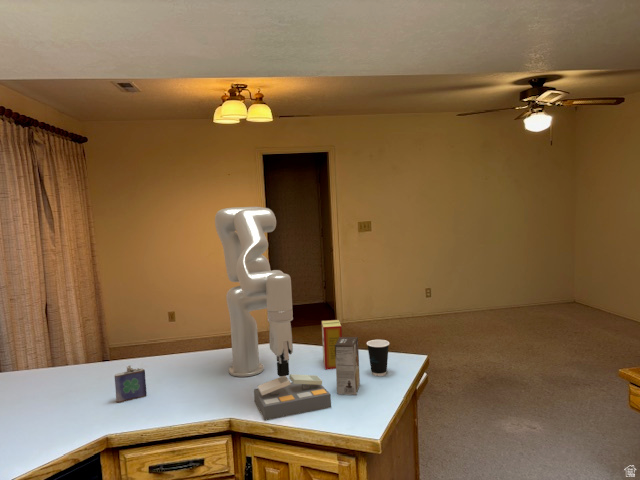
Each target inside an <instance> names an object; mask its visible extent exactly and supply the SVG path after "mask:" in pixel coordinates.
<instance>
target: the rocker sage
mask: <svg viewBox="0 0 640 480" xmlns="http://www.w3.org/2000/svg"><path fill="white" fill-rule="evenodd" d="M288 377H289V378H288V379H289V380H290V382H293V383H294V384H314V385H322V386H323V380H322V379H321V378H320V376H318V375H316V374H315V375H311V374H292V373H291V374H290V373H289V375H288Z"/></svg>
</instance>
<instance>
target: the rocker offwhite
mask: <svg viewBox="0 0 640 480" xmlns="http://www.w3.org/2000/svg"><path fill="white" fill-rule="evenodd" d="M290 384H291V380H290V379H289V378H288V376H281V377H279V376H278V377H277V378H274V379H272V380H269V381H266V382H264V383H261V384H259V385H257V388H258V390H259V391H260V393H261V395H262V396H263V395H265V394H268V393H270V392H273V391H275V390H278V389H280V388H283V387H285V386H288V385H290Z"/></svg>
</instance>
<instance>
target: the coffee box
mask: <svg viewBox="0 0 640 480" xmlns="http://www.w3.org/2000/svg"><path fill="white" fill-rule="evenodd" d="M359 355H360V353H359V336H342V337H339V339H338V341H337V343H336V344H335V357H336V369H335V374H336V394H337V395H343V394H346V395H348V396H349V395H350V396H356V395H357V394H358V390H359V388H360V385H361V380H360V359H359V358H360V356H359ZM346 395H345V396H346Z"/></svg>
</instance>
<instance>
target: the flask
mask: <svg viewBox="0 0 640 480" xmlns="http://www.w3.org/2000/svg"><path fill="white" fill-rule="evenodd" d="M146 381H147V380H146V370H145V369H144V368H141V367H140V368H139V367H136V368H133V367H132V366H131V365H128V366H126V371H123V372H119V373H116V374H115V375H114V387H115V401H116V403H124V402H128V401H133V400H135V399H136V400H137V399H141V398H145V397H147V393H148V392H147V382H146Z"/></svg>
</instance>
